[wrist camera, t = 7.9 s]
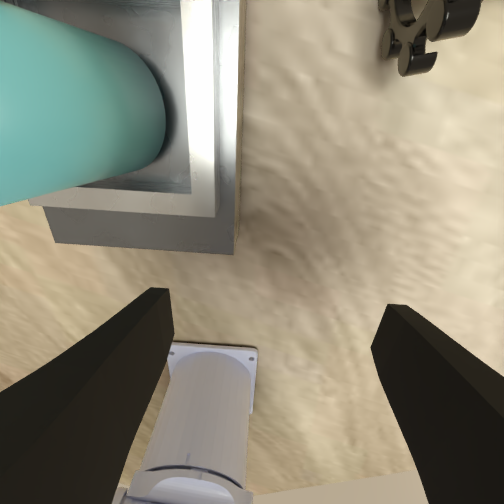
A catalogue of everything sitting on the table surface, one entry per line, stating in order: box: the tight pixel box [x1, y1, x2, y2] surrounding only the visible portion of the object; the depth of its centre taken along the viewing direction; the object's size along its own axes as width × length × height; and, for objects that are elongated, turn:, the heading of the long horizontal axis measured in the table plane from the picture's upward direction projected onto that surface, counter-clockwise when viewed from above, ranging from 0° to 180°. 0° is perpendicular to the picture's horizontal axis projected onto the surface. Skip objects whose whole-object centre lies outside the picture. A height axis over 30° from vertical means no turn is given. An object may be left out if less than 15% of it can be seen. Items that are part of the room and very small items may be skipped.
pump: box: [0, 1, 166, 206], centre depth 8 cm, size 6×5×6 cm
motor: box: [0, 0, 246, 255], centre depth 12 cm, size 16×10×5 cm, turn 177°
